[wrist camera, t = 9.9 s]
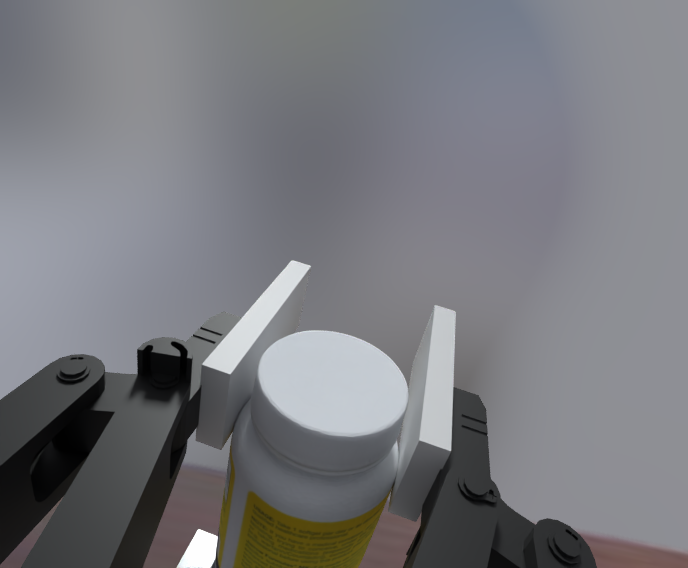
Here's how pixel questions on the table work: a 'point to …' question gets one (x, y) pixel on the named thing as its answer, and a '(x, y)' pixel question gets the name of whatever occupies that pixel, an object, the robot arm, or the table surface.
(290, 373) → the supplement bottle
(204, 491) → the table surface
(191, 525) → the table surface
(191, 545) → the rectangular metal tray
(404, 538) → the table surface
